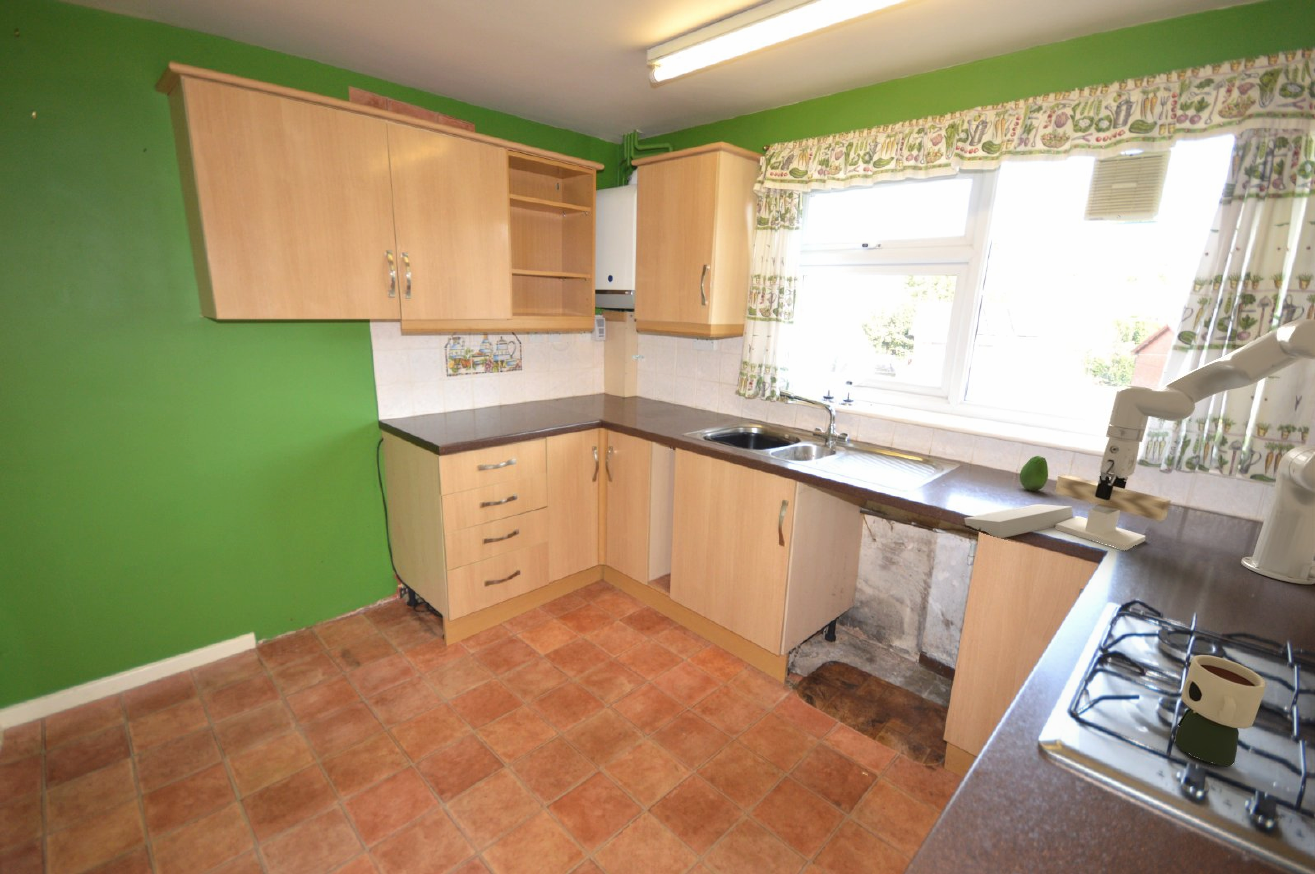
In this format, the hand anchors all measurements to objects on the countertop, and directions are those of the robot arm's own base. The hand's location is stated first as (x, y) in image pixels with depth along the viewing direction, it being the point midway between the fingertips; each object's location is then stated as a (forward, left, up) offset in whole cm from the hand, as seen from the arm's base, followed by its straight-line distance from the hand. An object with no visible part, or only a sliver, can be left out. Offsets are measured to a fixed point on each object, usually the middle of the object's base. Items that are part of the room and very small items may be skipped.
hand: (1109, 495), depth 154 cm
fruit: (+29, -26, -11) cm, 41 cm away
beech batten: (0, 0, -3) cm, 3 cm away
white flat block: (+15, +12, -12) cm, 23 cm away
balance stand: (0, 0, -11) cm, 11 cm away
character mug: (-41, +83, -11) cm, 93 cm away
